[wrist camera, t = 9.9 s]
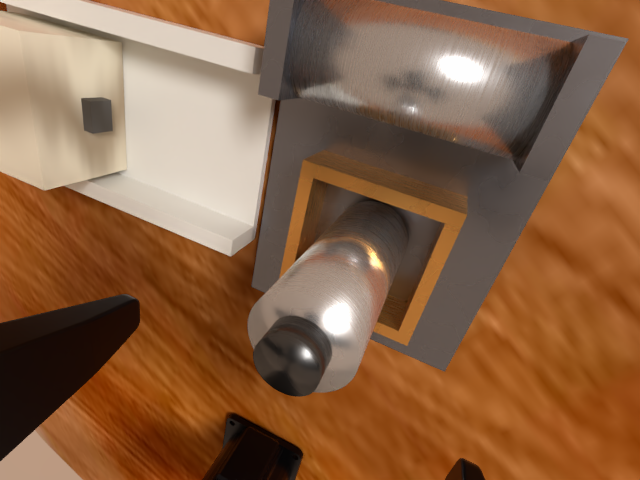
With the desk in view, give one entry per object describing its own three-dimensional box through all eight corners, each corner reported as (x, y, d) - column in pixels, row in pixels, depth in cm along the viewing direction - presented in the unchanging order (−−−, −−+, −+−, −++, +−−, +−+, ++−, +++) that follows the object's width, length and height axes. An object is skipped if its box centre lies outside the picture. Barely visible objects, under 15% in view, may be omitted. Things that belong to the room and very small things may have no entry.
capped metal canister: (394, 278, 18) (330, 438, 10) (329, 253, 19) (224, 381, 11) (418, 216, 17) (364, 348, 8) (346, 191, 17) (234, 290, 9)
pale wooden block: (134, 172, 22) (53, 194, 18) (43, 136, 24) (-52, 149, 19) (131, 44, 19) (30, 34, 14) (24, 14, 20) (-94, -4, 16)
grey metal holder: (445, 365, 20) (438, 441, 16) (255, 282, 22) (206, 329, 18) (622, 39, 12) (702, 19, 8) (306, -26, 15) (242, -67, 11)
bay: (254, 238, 21) (230, 256, 19) (36, 150, 25) (-4, 157, 23) (283, 51, 16) (255, 47, 14) (9, -21, 20) (-45, -33, 18)
